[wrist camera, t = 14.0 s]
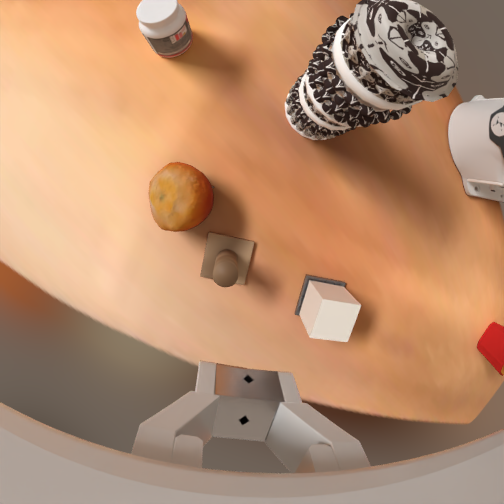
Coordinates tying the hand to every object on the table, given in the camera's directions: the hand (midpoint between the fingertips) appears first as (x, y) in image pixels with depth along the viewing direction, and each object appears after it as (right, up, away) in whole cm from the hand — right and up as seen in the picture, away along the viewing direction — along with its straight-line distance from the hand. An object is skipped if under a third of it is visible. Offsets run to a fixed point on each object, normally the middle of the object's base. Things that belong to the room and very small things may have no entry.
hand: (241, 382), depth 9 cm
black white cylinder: (+9, +23, +27) cm, 36 cm away
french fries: (+51, -14, +38) cm, 65 cm away
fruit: (-8, +11, +29) cm, 32 cm away
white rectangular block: (+10, -3, +32) cm, 34 cm away
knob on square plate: (-3, +3, +31) cm, 31 cm away
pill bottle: (-10, +33, +23) cm, 42 cm away
